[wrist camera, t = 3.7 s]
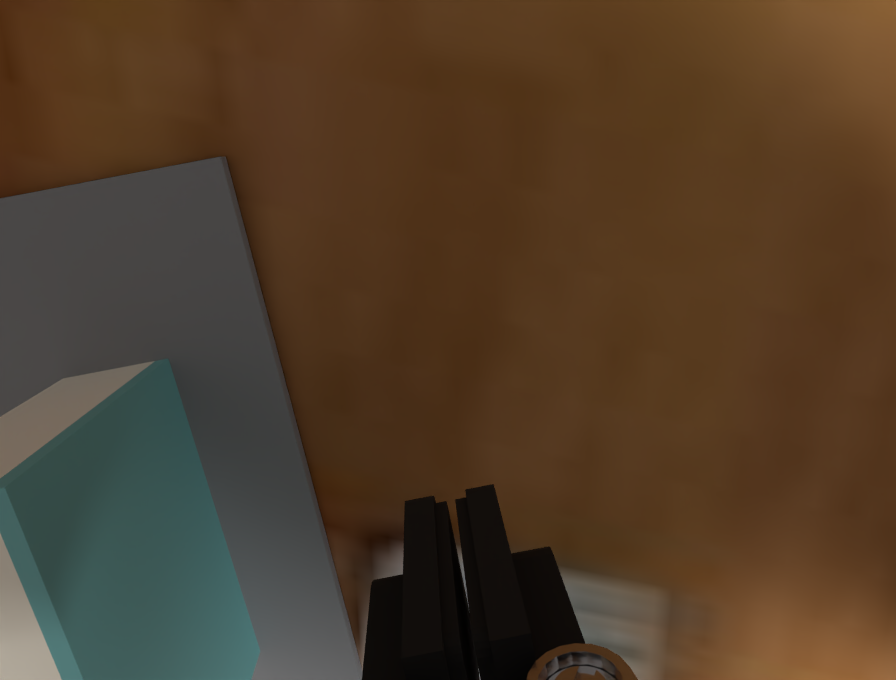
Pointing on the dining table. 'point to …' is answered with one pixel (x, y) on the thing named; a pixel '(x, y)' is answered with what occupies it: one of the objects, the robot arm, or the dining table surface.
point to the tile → (114, 539)
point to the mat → (183, 373)
